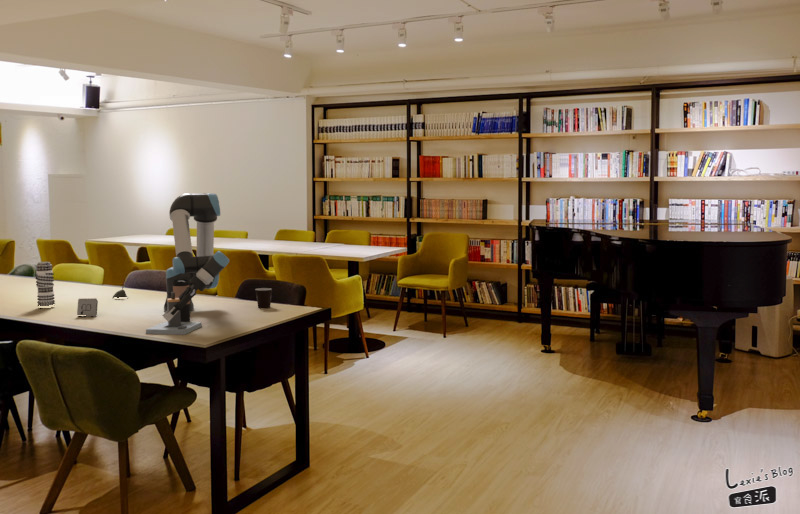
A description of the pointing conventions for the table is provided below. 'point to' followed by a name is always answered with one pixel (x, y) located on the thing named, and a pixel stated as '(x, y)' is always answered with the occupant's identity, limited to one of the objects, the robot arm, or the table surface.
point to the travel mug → (179, 288)
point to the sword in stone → (120, 293)
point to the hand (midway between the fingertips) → (165, 318)
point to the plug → (170, 304)
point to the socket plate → (174, 328)
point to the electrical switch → (87, 307)
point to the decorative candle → (45, 284)
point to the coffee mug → (263, 297)
